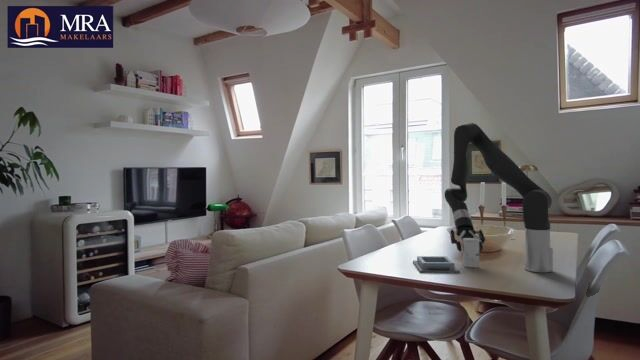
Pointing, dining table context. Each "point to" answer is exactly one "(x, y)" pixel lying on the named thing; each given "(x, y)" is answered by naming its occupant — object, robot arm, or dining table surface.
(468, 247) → the skincare box
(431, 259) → the tray
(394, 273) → the dining table surface
